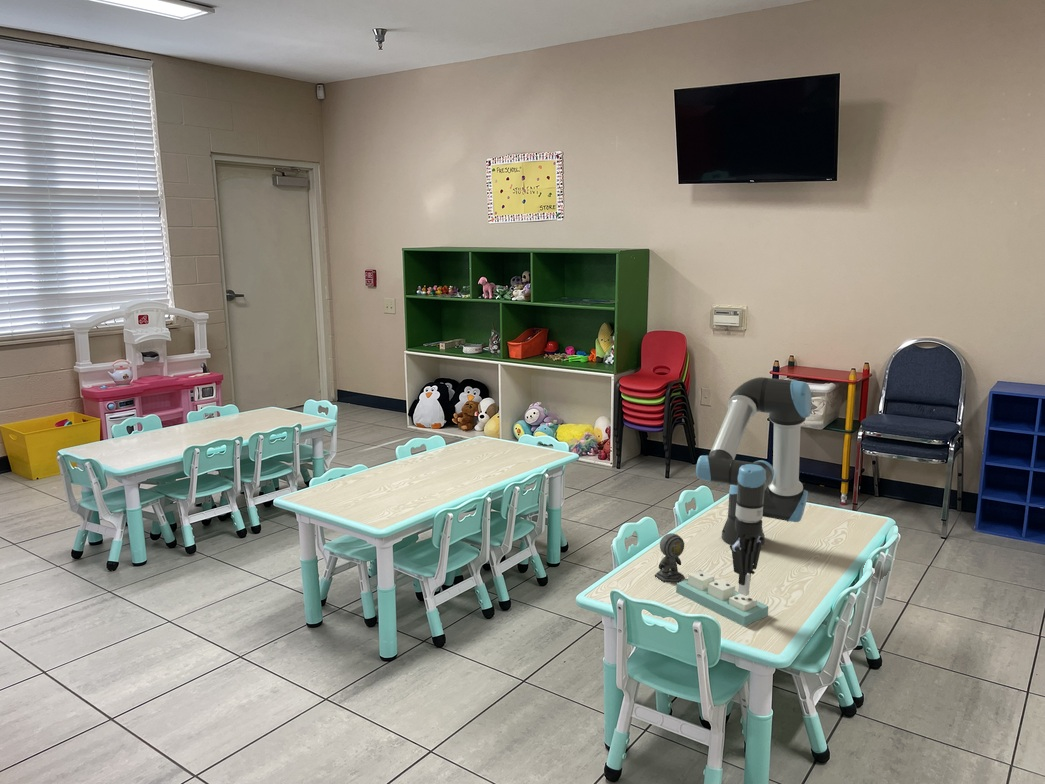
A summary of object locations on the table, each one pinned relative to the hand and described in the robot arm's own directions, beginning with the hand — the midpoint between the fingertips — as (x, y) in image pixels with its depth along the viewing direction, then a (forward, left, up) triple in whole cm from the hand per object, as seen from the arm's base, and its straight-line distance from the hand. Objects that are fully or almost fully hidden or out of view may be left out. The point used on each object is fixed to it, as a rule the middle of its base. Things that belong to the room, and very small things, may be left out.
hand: (743, 593), depth 229 cm
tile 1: (-16, 0, -4) cm, 16 cm away
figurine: (-30, +1, -7) cm, 31 cm away
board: (-8, 0, -7) cm, 10 cm away
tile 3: (0, 0, -6) cm, 6 cm away
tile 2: (-8, 0, -4) cm, 9 cm away
